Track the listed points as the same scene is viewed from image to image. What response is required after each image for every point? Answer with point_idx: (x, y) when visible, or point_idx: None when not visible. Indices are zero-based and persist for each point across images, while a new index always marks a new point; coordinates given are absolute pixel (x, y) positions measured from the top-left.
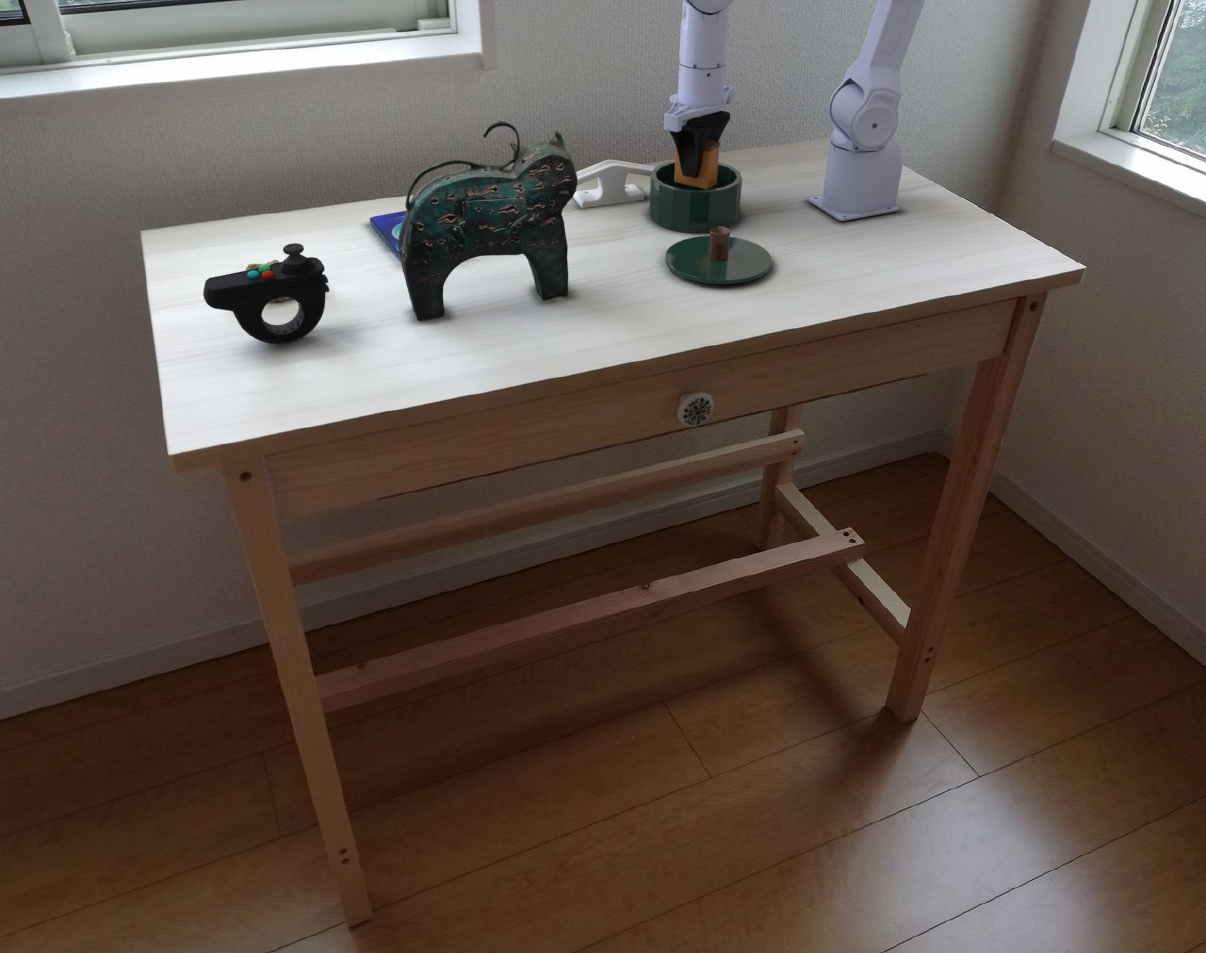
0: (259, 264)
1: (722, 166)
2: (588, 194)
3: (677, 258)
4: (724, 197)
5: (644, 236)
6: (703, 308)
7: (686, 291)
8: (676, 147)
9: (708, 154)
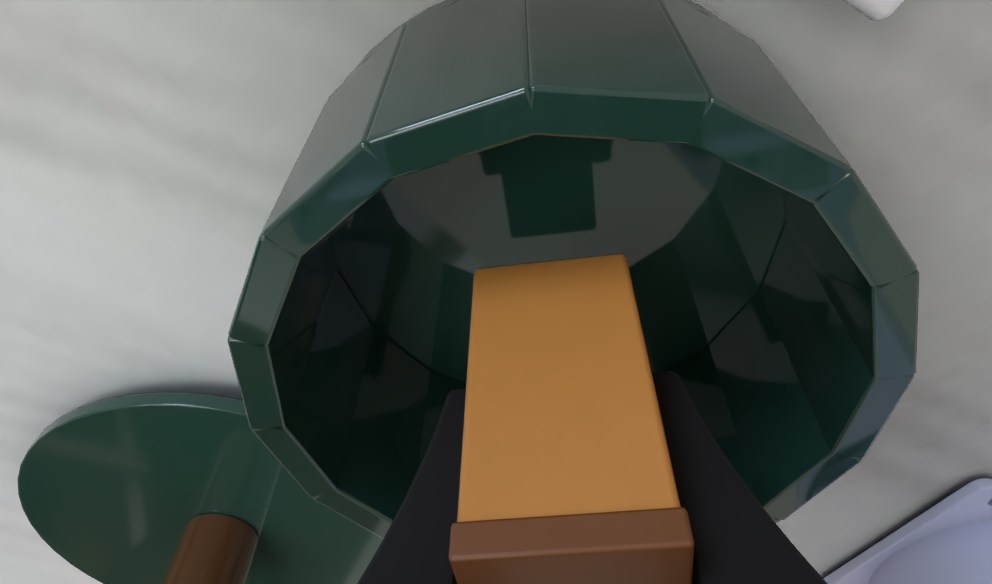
0: None
1: (844, 419)
2: None
3: (78, 467)
4: None
5: (147, 205)
6: (12, 578)
7: (21, 522)
8: (360, 579)
9: None
